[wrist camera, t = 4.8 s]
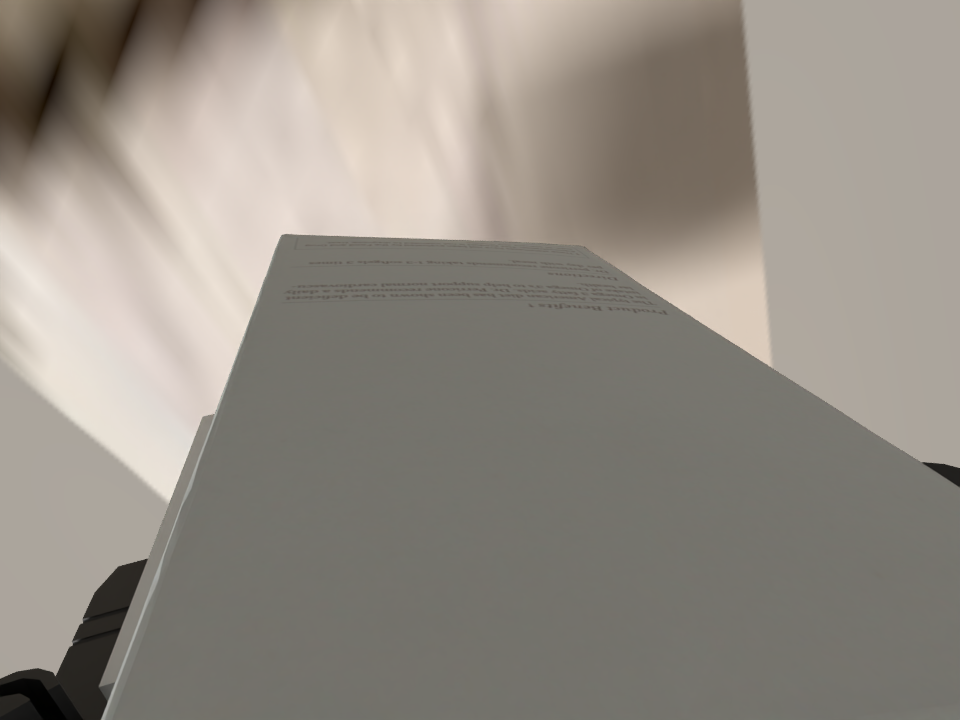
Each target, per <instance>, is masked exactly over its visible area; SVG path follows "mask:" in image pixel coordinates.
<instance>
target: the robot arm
mask: <svg viewBox="0 0 960 720" xmlns="http://www.w3.org/2000/svg"><path fill="white" fill-rule="evenodd" d="M214 415H215V414H212V415H208V416H204V417H203V418H202V420H201V423H200V425H199V428H198V431H197V433H196V436H195V438H194V441H193V444H192V446H191V449H190V451H189V454H188V457H187V459H186V462H185V464H184V467H183V470H182V472H181V475H180V477H179V480H178V482H177V485H176V488H175V490H174V493H173V495H172V498H171V501H170V503H169V506H168V509H167V511H166V514H165V516H164V519H163V521H162V524H161V527H160V529H159V532H158V534H157V537H156V540H155V542H154V545H153V547H152V550H151V553H150V555H149V558H148V559H145V560H141V561H137V562H134V563H130V564H126V565H122V566H119V567H118V568H117V569H116V570H115V571H114V572H113V573H112V574H111V575H110V576H109V577H108V579H107V580H106V581H105V582H104V583H103V584H102V585H101V586H100V587H99V589H98V590H97V591H96V592H95V593H94V595H93V598H92V600H91V602H90V604H89V606H88V608H87V611H86V613H85V615H84V617H83V624H80V625H79V628H78V630H77V632H76V634H75V636H74V639H73V641H72V642H73V646H71V647H70V648H69V649H68V651H67V653H66V656H65V658H64V660H63V662H62V664H61V666H60V668H59V671H58V673H57V675H56V676H55V675H54V673H53V672H50V671H46V670H42V669H39V668H37V669H30V670H24V671H18V672H15V673H12V674H10V675H8V676H5V677H3V678H1V679H0V720H101V718H102V716H103V713H104V711H105V708H106V705H107V703H108V700H109V698H110V695H111V692H112V690H113V687H114V684H115V682H116V679H117V677H118V674H119V671H120V669H121V666H122V663H123V661H124V658H125V655H126V653H127V650H128V647H129V645H130V642H131V640H132V637H133V634H134V632H135V629H136V626H137V624H138V621H139V618H140V615H141V613H142V610H143V607H144V604H145V601H146V599H147V596H148V593H149V590H150V588H151V585H152V582H153V579H154V577H155V574H156V572H157V569H158V566H159V564H160V561H161V559H162V556H163V553H164V551H165V548H166V545H167V543H168V540H169V538H170V535H171V532H172V529H173V526H174V524H175V521H176V518H177V515H178V512H179V510H180V507H181V504H182V501H183V498H184V496H185V493H186V490H187V488H188V485H189V482H190V479H191V477H192V474H193V471H194V469H195V466H196V463H197V461H198V458H199V455H200V453H201V450H202V447H203V445H204V442H205V439H206V437H207V434H208V431H209V429H210V426H211V423H212V420H213V418H214ZM921 463H923V464H924V465H926V466H927V467H929V468H931V469H932V470H934V471H935V472H937V473H938V474H940V475H941V476H943V477H944V478H946V479H947V480H949V481H951V482H952V483H954V484H955V485H957V486H958V487H960V468H957V467H953V466H949V465H945V464H937V463H925V462H921Z"/></svg>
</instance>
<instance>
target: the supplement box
mask: <svg viewBox="0 0 960 720" xmlns="http://www.w3.org/2000/svg"><path fill="white" fill-rule="evenodd" d="M101 720H960V487H958V486H957V485H955V484H954V483H952V482H951V481H949V480H947V479H946V478H944V477H943V476H941V475H940V474H938V473H937V472H935V471H934V470H932V469H931V468H929V467H927V466H926V465H924V464H923V463H921V462H920V461H918V460H916V459H915V458H913V457H911V456H910V455H908V454H907V453H905V452H904V451H902V450H900V449H899V448H897V447H896V446H894V445H892V444H891V443H889V442H887V441H886V440H884V439H883V438H881V437H879V436H878V435H876V434H875V433H873V432H871V431H870V430H868V429H867V428H865V427H863V426H862V425H860V424H859V423H857V422H856V421H854V420H853V419H851V418H850V417H848V416H846V415H845V414H844V413H842V412H841V411H839V410H837V409H836V408H834V407H833V406H831V405H830V404H828V403H827V402H825V401H823V400H822V399H820V398H819V397H817V396H815V395H814V394H812V393H811V392H809V391H807V390H806V389H804V388H803V387H801V386H799V385H798V384H796V383H795V382H793V381H791V380H790V379H788V378H787V377H785V376H784V375H782V374H780V373H779V372H777V371H776V370H774V369H773V368H771V367H769V366H768V365H766V364H765V363H763V362H762V361H760V360H758V359H757V358H755V357H754V356H752V355H751V354H749V353H748V352H746V351H744V350H743V349H741V348H740V347H738V346H737V345H735V344H733V343H732V342H730V341H729V340H727V339H725V338H724V337H722V336H721V335H719V334H717V333H716V332H714V331H713V330H711V329H710V328H708V327H707V326H705V325H703V324H702V323H700V322H699V321H697V320H696V319H694V318H693V317H691V316H690V315H688V314H686V313H685V312H683V311H682V310H680V309H678V308H677V307H675V306H674V305H672V304H671V303H669V302H668V301H666V300H664V299H663V298H661V297H660V296H658V295H657V294H655V293H653V292H652V291H650V290H649V289H647V288H646V287H644V286H642V285H641V284H639V283H638V282H636V281H635V280H633V279H632V278H631V277H629V276H628V275H626V274H625V273H623V272H622V271H620V270H619V269H617V268H616V267H614V266H613V265H611V264H609V263H608V262H606V261H604V260H603V259H602V258H600V257H598V256H597V255H595V254H594V253H592V252H591V251H589V250H588V249H587V248H585V247H583V246H575V245H557V244H542V243H522V242H497V241H469V240H439V239H409V238H378V237H347V236H316V235H292V234H284V235H282V236H281V237H280V239H279V242H278V244H277V246H276V249H275V252H274V254H273V257H272V260H271V263H270V266H269V268H268V271H267V274H266V277H265V279H264V282H263V285H262V287H261V290H260V293H259V296H258V299H257V302H256V304H255V307H254V310H253V312H252V315H251V318H250V320H249V323H248V326H247V328H246V331H245V334H244V336H243V339H242V342H241V345H240V347H239V350H238V353H237V355H236V358H235V361H234V364H233V366H232V369H231V372H230V374H229V377H228V380H227V383H226V385H225V388H224V391H223V393H222V396H221V399H220V402H219V404H218V407H217V410H216V412H215V415H214V418H213V420H212V423H211V426H210V429H209V431H208V434H207V437H206V439H205V442H204V445H203V447H202V450H201V453H200V455H199V458H198V461H197V463H196V466H195V469H194V471H193V474H192V477H191V479H190V482H189V485H188V488H187V490H186V493H185V496H184V498H183V501H182V504H181V507H180V510H179V512H178V515H177V518H176V521H175V524H174V526H173V529H172V532H171V535H170V538H169V540H168V543H167V545H166V548H165V551H164V553H163V556H162V559H161V561H160V564H159V566H158V569H157V572H156V574H155V577H154V579H153V582H152V585H151V588H150V590H149V593H148V596H147V599H146V601H145V604H144V607H143V610H142V613H141V615H140V618H139V621H138V624H137V626H136V629H135V632H134V634H133V637H132V640H131V642H130V645H129V647H128V650H127V653H126V655H125V658H124V661H123V663H122V666H121V669H120V671H119V674H118V677H117V679H116V682H115V684H114V687H113V690H112V692H111V695H110V698H109V700H108V703H107V705H106V708H105V711H104V713H103V716H102V718H101Z"/></svg>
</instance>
